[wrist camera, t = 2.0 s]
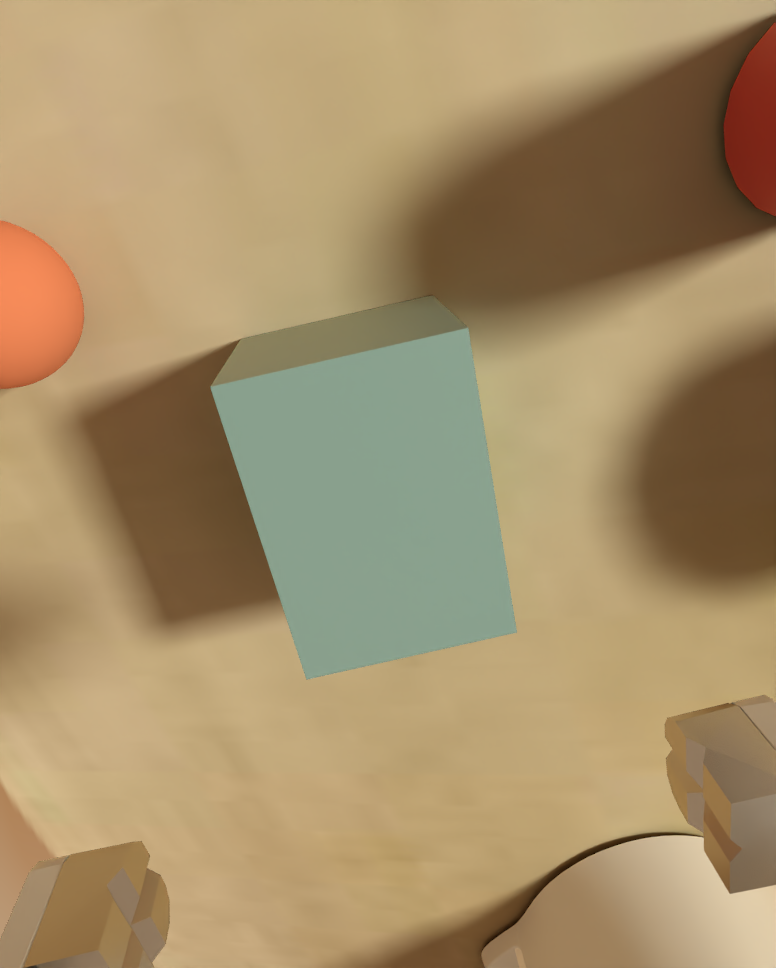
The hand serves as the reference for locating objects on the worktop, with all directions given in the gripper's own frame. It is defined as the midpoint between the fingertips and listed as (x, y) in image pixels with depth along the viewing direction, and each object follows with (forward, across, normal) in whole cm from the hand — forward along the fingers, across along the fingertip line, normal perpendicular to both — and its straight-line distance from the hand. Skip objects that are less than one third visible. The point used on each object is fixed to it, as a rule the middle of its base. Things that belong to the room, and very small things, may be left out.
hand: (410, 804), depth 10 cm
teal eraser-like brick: (+17, 0, 0) cm, 17 cm away
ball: (+14, +10, -8) cm, 19 cm away
